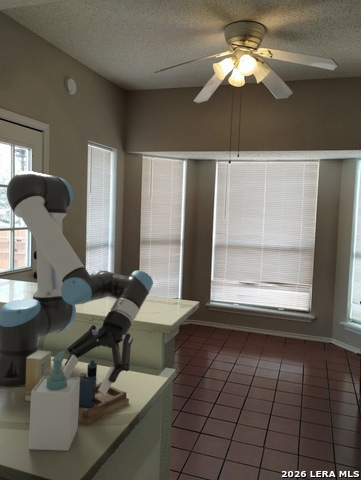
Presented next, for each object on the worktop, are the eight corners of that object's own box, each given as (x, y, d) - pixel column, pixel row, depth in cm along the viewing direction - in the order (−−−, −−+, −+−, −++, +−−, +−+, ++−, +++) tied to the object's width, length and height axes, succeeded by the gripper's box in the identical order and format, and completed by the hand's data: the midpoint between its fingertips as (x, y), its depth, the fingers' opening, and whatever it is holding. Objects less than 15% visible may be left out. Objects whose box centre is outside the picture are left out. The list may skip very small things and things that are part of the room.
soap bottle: (78, 429, 90) (81, 351, 89) (68, 451, 82) (72, 364, 81) (41, 427, 90) (45, 349, 89) (28, 449, 81) (31, 363, 80)
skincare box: (36, 391, 109) (38, 349, 108) (50, 392, 108) (52, 351, 107) (23, 401, 102) (25, 357, 102) (38, 403, 102) (40, 358, 101)
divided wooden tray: (56, 409, 99) (56, 399, 99) (98, 390, 111) (98, 381, 111) (87, 425, 92) (87, 414, 92) (128, 402, 105) (129, 393, 105)
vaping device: (92, 409, 97) (95, 363, 97) (73, 406, 98) (76, 360, 98) (96, 404, 100) (99, 360, 100) (78, 401, 101) (80, 357, 101)
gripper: (82, 303, 113) (40, 367, 100) (151, 317, 101) (113, 392, 88) (94, 317, 118) (54, 380, 105) (161, 332, 105) (125, 405, 93)
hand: (81, 386), depth 97 cm, fingers open, 13 cm apart
